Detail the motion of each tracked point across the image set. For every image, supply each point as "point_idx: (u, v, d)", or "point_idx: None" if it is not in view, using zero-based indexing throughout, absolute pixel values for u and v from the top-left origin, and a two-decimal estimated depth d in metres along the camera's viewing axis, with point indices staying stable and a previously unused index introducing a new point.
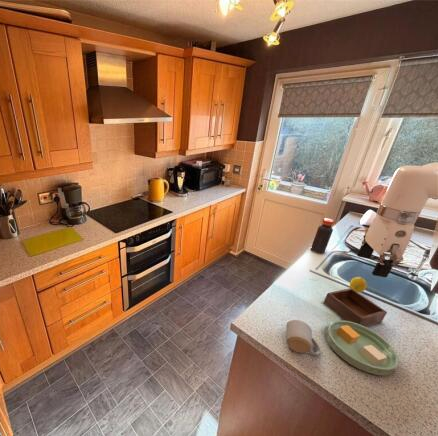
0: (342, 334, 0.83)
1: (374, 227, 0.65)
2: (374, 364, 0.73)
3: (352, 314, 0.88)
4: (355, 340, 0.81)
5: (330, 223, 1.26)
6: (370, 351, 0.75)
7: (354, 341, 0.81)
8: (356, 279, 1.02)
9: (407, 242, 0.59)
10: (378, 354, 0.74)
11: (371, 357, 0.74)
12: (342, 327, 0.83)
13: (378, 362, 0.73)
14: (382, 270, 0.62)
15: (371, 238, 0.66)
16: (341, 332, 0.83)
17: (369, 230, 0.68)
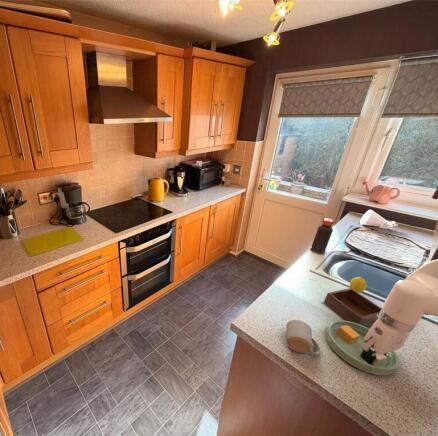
0: (342, 334, 0.83)
1: None
2: (374, 364, 0.73)
3: (352, 314, 0.88)
4: (355, 340, 0.81)
5: (330, 223, 1.26)
6: None
7: (354, 341, 0.81)
8: (356, 279, 1.02)
9: (383, 341, 0.68)
10: (378, 354, 0.74)
11: None
12: (342, 327, 0.83)
13: (378, 362, 0.73)
14: (364, 354, 0.75)
15: None
16: (341, 332, 0.83)
17: None
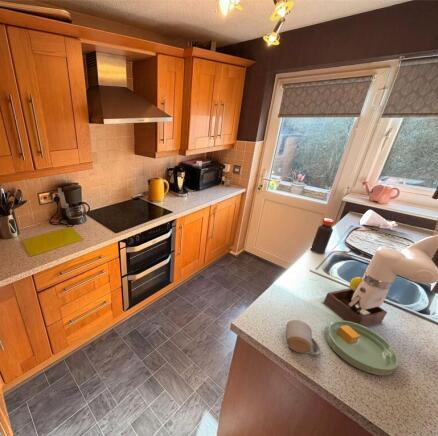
0: (342, 334, 0.83)
1: None
2: None
3: (352, 314, 0.88)
4: (355, 340, 0.81)
5: (330, 223, 1.26)
6: None
7: (354, 341, 0.81)
8: (356, 279, 1.02)
9: (366, 298, 0.84)
10: (363, 311, 0.89)
11: None
12: (342, 327, 0.83)
13: None
14: None
15: None
16: (341, 332, 0.83)
17: None
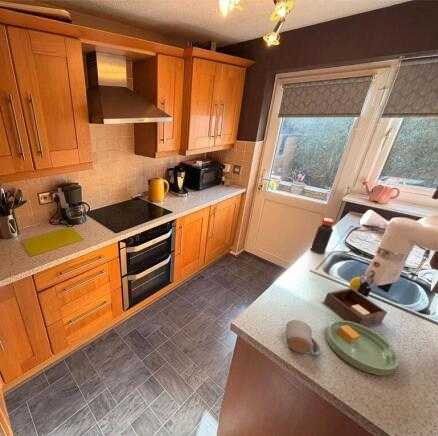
0: (342, 334, 0.83)
1: None
2: None
3: (352, 314, 0.88)
4: (355, 340, 0.81)
5: (330, 223, 1.26)
6: (356, 308, 0.91)
7: (354, 341, 0.81)
8: (356, 279, 1.02)
9: (380, 272, 0.78)
10: (363, 311, 0.89)
11: (357, 313, 0.90)
12: (342, 327, 0.83)
13: None
14: (361, 288, 0.84)
15: None
16: (341, 332, 0.83)
17: None
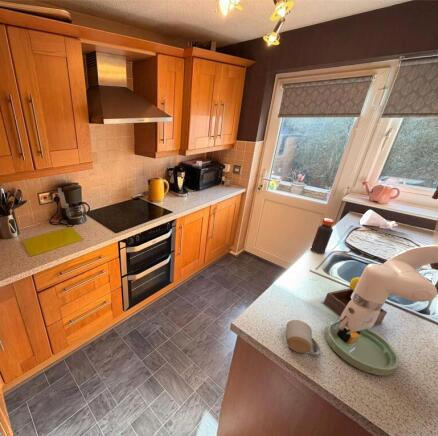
0: None
1: None
2: None
3: None
4: (355, 340, 0.81)
5: (330, 223, 1.26)
6: None
7: (354, 341, 0.81)
8: (356, 279, 1.02)
9: (355, 320, 0.75)
10: None
11: None
12: None
13: None
14: (340, 333, 0.82)
15: None
16: None
17: None
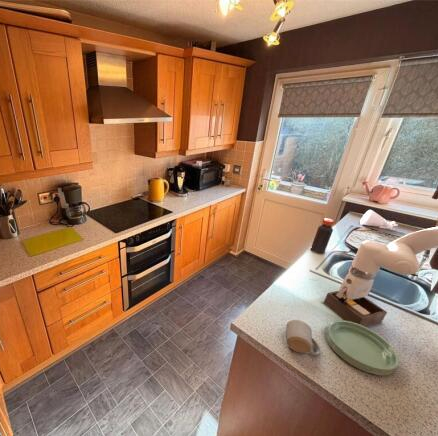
0: None
1: None
2: None
3: (352, 314, 0.88)
4: None
5: (330, 223, 1.26)
6: (356, 308, 0.91)
7: None
8: None
9: (352, 289, 0.88)
10: (363, 311, 0.89)
11: (357, 313, 0.90)
12: None
13: None
14: None
15: None
16: None
17: None
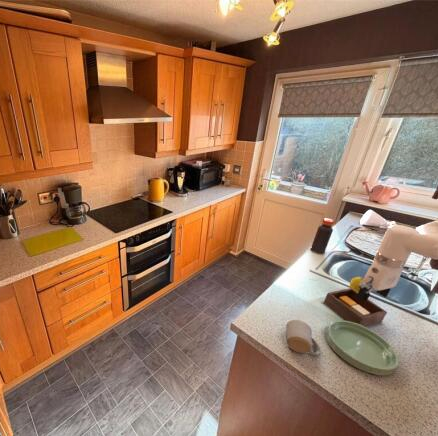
0: None
1: None
2: None
3: (352, 314, 0.88)
4: None
5: (330, 223, 1.26)
6: (356, 308, 0.91)
7: None
8: (356, 279, 1.02)
9: (379, 278, 0.80)
10: (363, 311, 0.89)
11: (357, 313, 0.90)
12: (341, 297, 0.96)
13: None
14: (360, 293, 0.86)
15: None
16: None
17: None
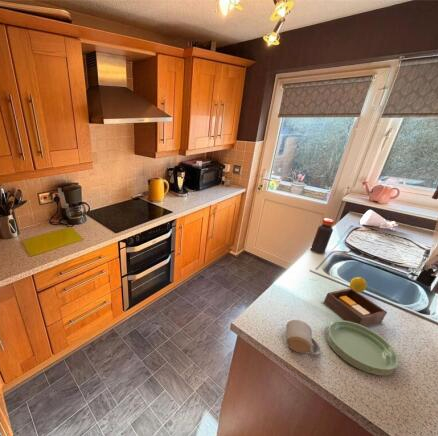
0: None
1: None
2: None
3: (352, 314, 0.88)
4: None
5: (330, 223, 1.26)
6: (356, 308, 0.91)
7: None
8: (356, 279, 1.02)
9: None
10: (363, 311, 0.89)
11: (357, 313, 0.90)
12: (341, 297, 0.96)
13: None
14: (422, 277, 0.71)
15: None
16: None
17: None
